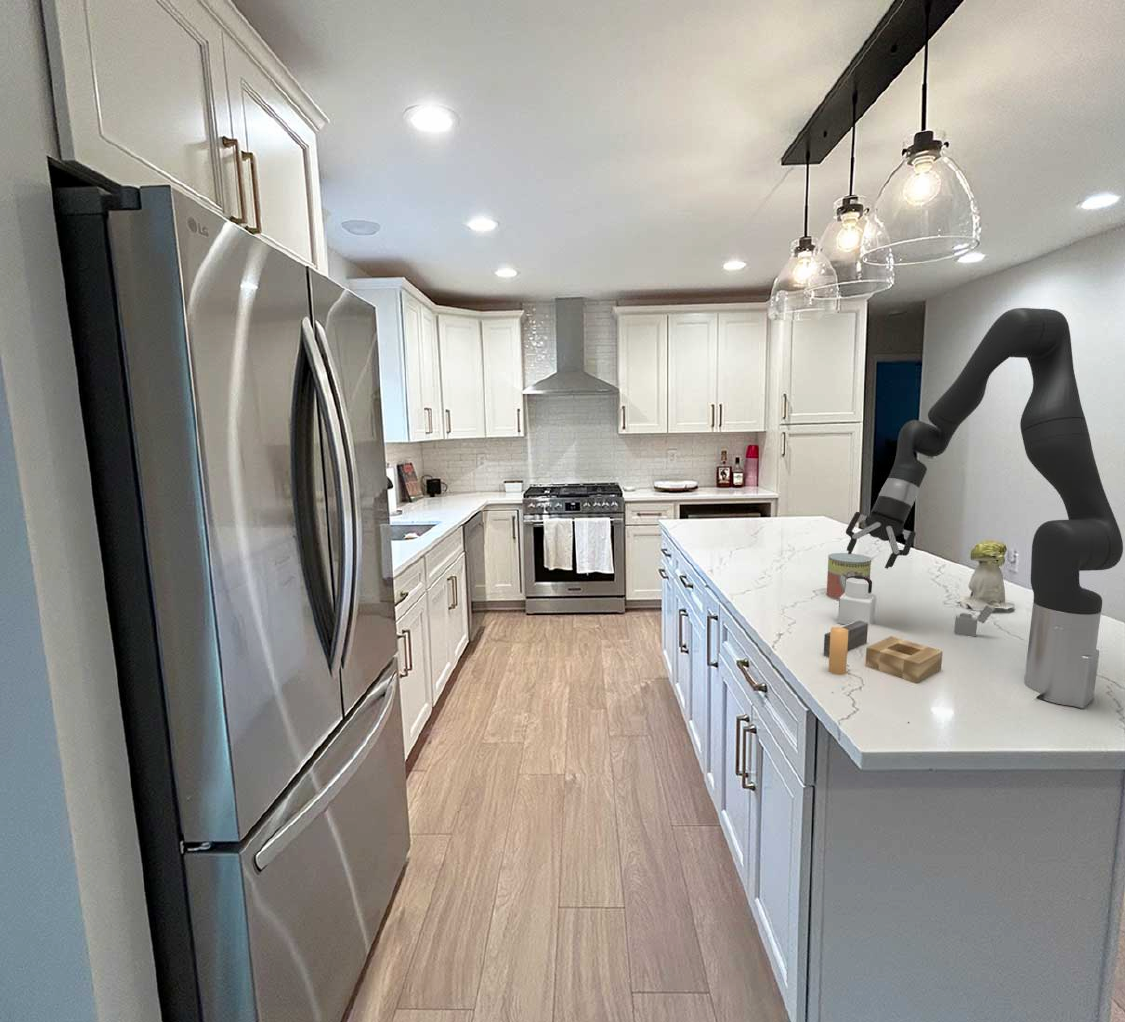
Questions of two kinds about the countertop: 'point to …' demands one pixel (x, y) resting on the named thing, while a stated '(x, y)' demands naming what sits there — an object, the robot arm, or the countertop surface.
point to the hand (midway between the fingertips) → (867, 560)
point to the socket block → (904, 659)
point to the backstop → (850, 636)
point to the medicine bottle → (857, 601)
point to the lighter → (971, 622)
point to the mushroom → (987, 578)
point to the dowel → (838, 650)
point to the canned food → (845, 571)
